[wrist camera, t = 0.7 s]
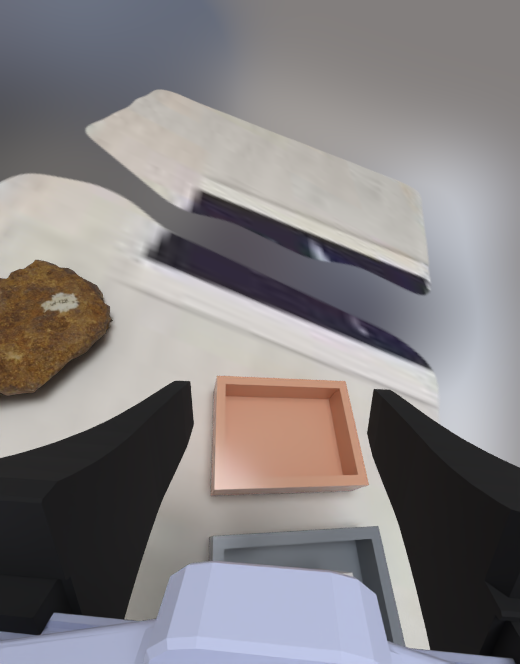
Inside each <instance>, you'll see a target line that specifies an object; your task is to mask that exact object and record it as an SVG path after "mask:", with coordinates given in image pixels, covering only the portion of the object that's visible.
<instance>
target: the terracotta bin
mask: <svg viewBox="0 0 520 664" xmlns="http://www.w3.org/2000/svg"><path fill="white" fill-rule="evenodd" d="M367 485H369V483H368V479H367V474H366V470H365V465H364V461H363V457H362V452H361V448H360V443H359V439H358V435H357V430H356V426H355V421H354V417H353V412H352V408H351V404H350V399H349V395H348V390H347V386H346V382H345V381H327V380H304V379H280V378H257V377H234V376H217V378H216V383H215V388H214V402H213V436H212V470H211V496H217V495H246V494H275V493H304V492H333V491H352V490H355V489H358V488H361V487H364V486H367Z"/></svg>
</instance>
